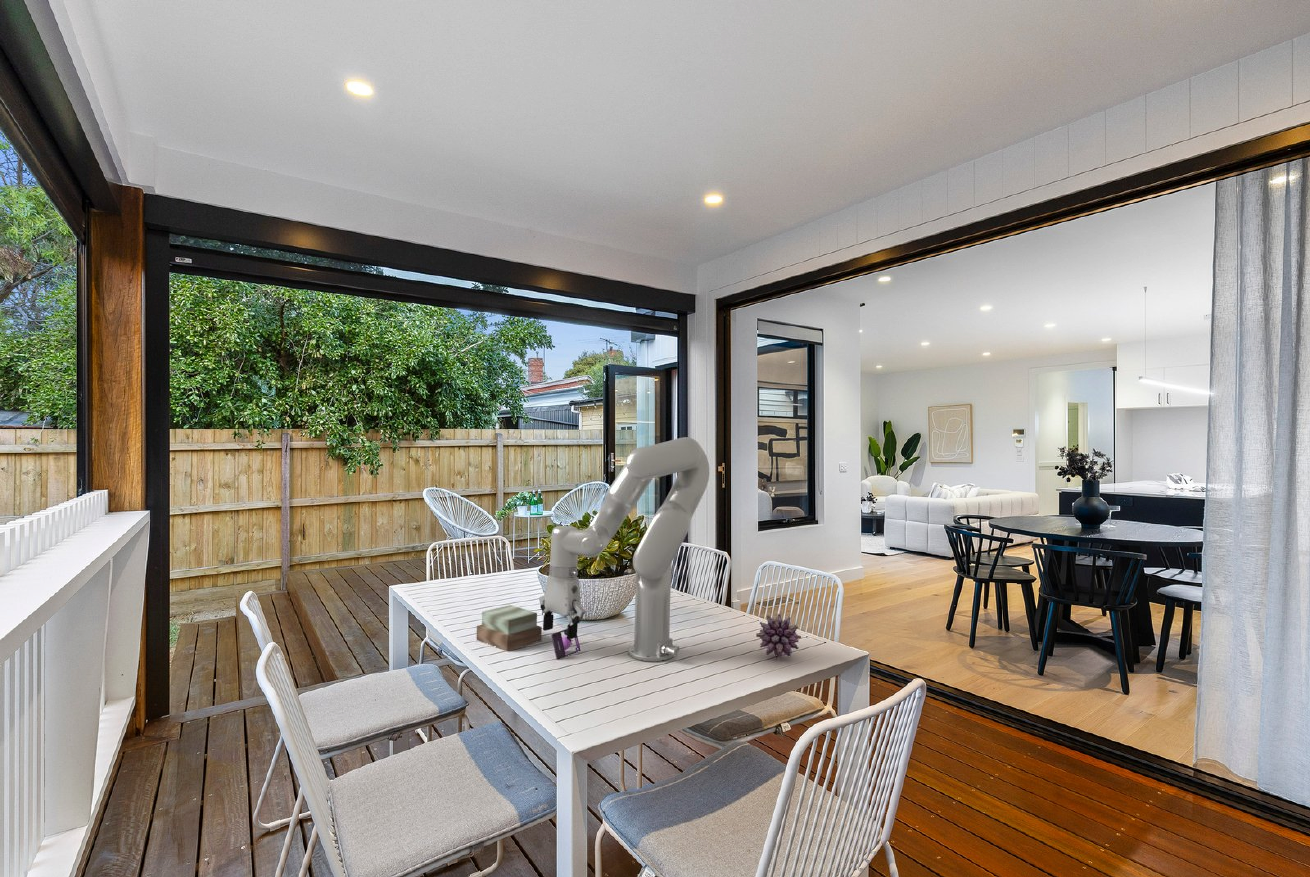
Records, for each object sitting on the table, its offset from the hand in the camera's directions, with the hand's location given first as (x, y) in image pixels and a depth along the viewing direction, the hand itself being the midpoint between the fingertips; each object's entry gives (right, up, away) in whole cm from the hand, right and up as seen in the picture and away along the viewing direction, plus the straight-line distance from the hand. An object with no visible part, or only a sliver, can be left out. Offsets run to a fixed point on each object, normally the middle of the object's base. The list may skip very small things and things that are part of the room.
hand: (559, 634), depth 173 cm
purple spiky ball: (+59, -6, -3) cm, 60 cm away
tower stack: (-15, -4, +7) cm, 17 cm away
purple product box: (+1, -5, -3) cm, 6 cm away
